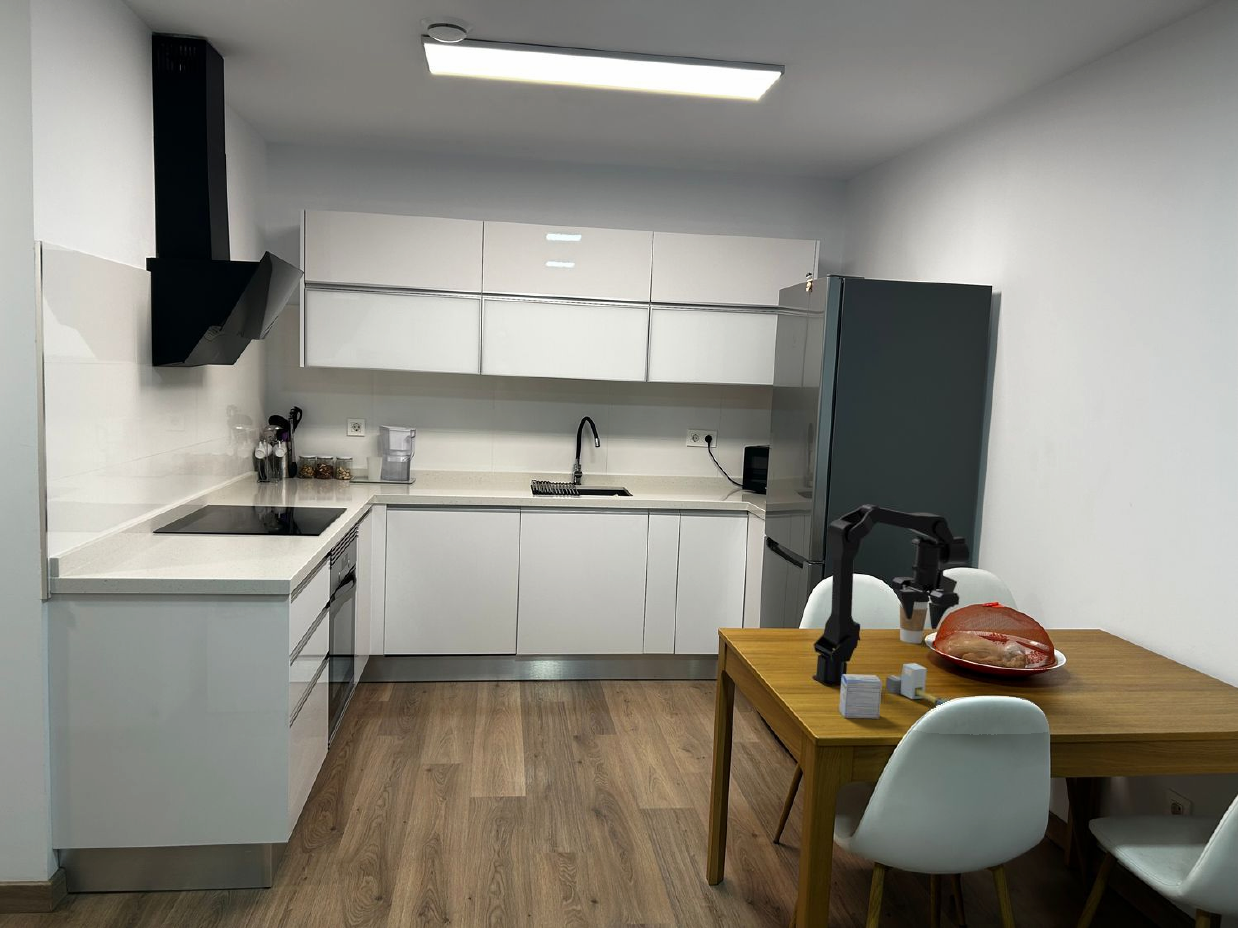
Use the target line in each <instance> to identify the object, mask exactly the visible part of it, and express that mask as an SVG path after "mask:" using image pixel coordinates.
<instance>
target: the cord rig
mask: <svg viewBox="0 0 1238 928" xmlns="http://www.w3.org/2000/svg"><path fill="white" fill-rule="evenodd" d="M885 681H886V682H885V690H886V691H887V692H889V693H891V694H893V695H896V694H901V682H902V673H901V675H893V674H891V675H890V676H886V680H885ZM915 693H916V694H918V695H920V696H922V697H924V698H923V699H925V700H928V701H929V702H932V703H933V704H934V706H936V705H941V704H943V703H945V702H947V701H951V700H950V699H948V698H944V699H943V698H940V697H936V696H933V695H931V694H930V693H927V692H923V691H921V690H919V689H917V688H915Z"/></svg>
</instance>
